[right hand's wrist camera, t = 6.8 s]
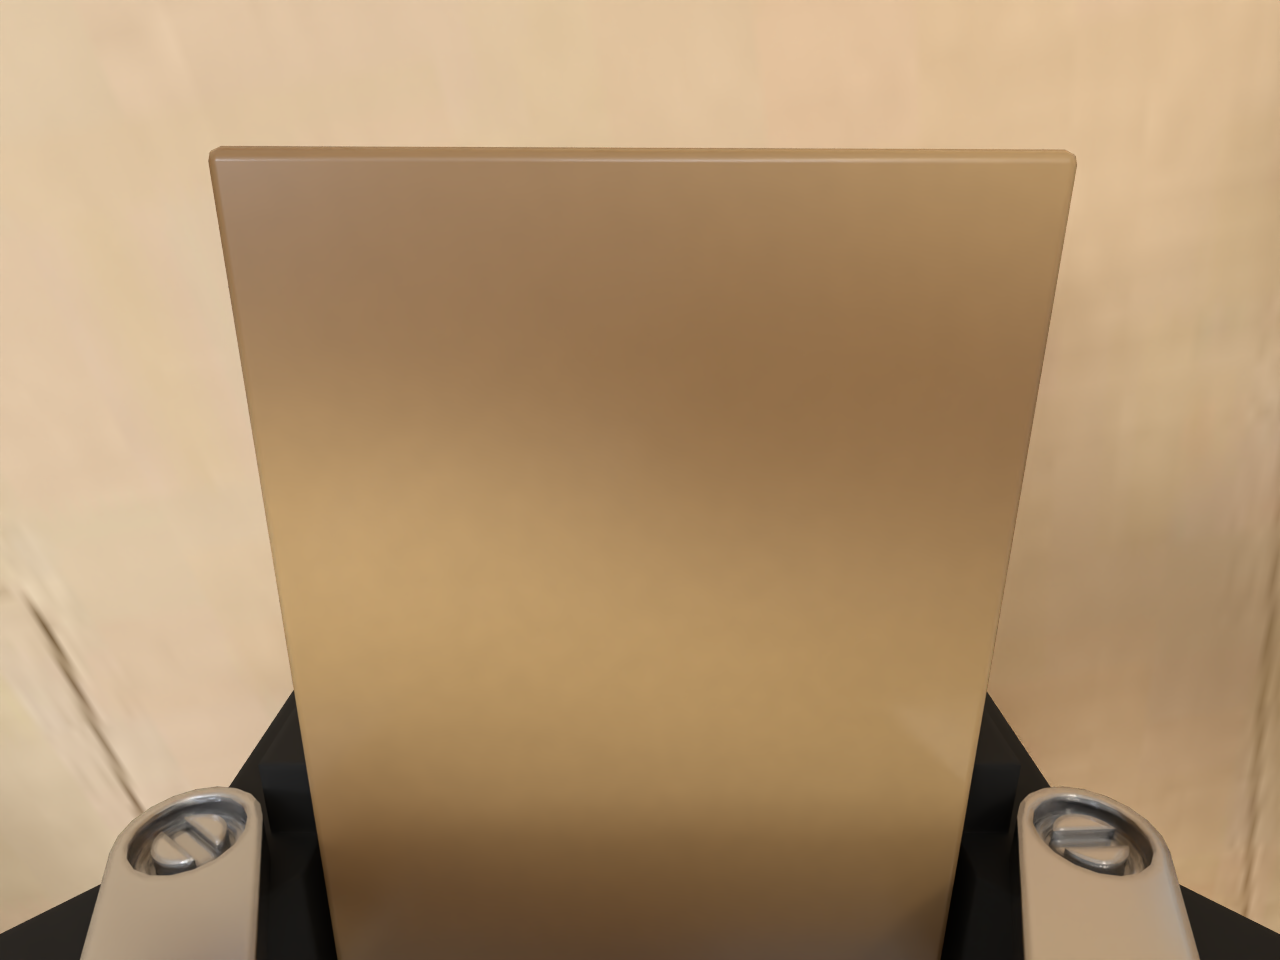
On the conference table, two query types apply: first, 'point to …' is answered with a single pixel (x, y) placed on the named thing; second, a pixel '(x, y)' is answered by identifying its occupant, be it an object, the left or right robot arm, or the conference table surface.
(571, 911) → the beam
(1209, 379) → the conference table surface
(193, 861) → the right robot arm
